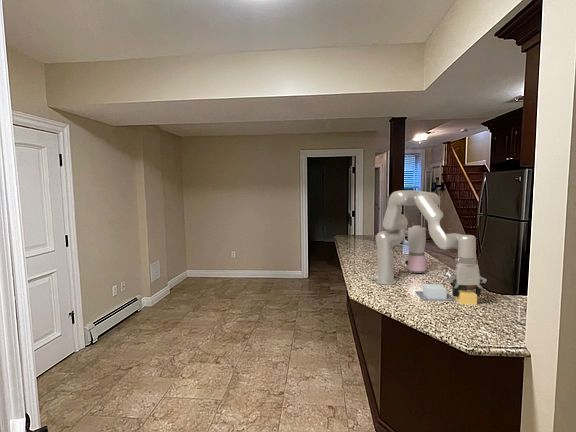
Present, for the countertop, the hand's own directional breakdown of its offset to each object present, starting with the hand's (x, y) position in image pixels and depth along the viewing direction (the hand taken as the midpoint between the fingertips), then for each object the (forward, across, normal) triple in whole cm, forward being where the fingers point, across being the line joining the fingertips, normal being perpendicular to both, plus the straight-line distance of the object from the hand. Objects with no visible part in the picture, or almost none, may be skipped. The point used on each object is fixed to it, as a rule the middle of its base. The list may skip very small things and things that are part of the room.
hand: (466, 296), depth 159 cm
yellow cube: (+4, 0, 0) cm, 4 cm away
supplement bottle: (+4, +1, +11) cm, 12 cm away
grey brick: (+3, -12, +9) cm, 16 cm away
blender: (+4, -9, +66) cm, 67 cm away
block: (+4, +12, +31) cm, 34 cm away
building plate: (+4, -12, +9) cm, 16 cm away
